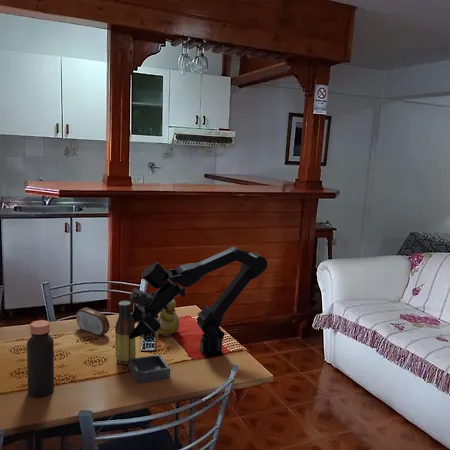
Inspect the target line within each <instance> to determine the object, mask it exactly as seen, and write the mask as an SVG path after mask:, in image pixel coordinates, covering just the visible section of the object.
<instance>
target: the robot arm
mask: <svg viewBox="0 0 450 450" xmlns="http://www.w3.org/2000/svg"><path fill="white" fill-rule="evenodd" d="M234 262H238V263H241V265H240V269H239V272H238V273H237V274H236V276H235V277H234V278H233V280H232V281H231V282H230V283H229V285H227V287H226V288H225V289H224V290H223V292H222V293H221V295H219V297H218V299H217V300H216V301H215V303H213V304H212V305H210V306H209V307H208V306H207V305H206V304H205V305H204V306H203V307H202V309H201V310H200V311H199V312H198V313H197V315H198V316H197V317H196V324H197V326H198V327H199V329H200V330H201V332H202V335H201V339H200V347H199V350H200V351H201V353H202V355H204V356H205V357H206V358H209V357H216V356H222V355H224V351H223V349H222V347H223V339H224V338H225V334H226V333H225V332H224V331H223V330H222V328H221V324H222V323H223V319H224V317H225V316H224V315H225V314H226V312H227V311H228V310H229V308H230V307H231V306H232V304H233V303H234V302H235V301H236V300H237V298H238V297H239V296H240V294H241V293H242V292H243V290H244V289H245V288H246V287H247V285H249V283H250V282H252V280H254V279H256V278H258V277H259V276H261V275H262V274H263V273H264V272H265V271H266V270H267V268H268V260H267V259H266V257H264V256H262V255H261V254H259V253H258V252H256V251H254V252H253V251H252V252H249V251H246V250H243V249H240V248H238V247H236V246H231V247H229V248H228V249H226V250H224V251H221V252H220V253H216V254H215V255H212V256H210V257H208V258H205V259H203V260H201V261H198V262H192V263H191V262H190V263H185V264H181V265H179V266H177V267H176V268H173V269H172V268H170V269H167V270H166V269H165V268H164V267H163V266H162V265H161V264H160V263H159V262H158V261H155V263H152V264H150V265H149V266H147V267H145V268H144V270H143V271H142V273H141V277H142V279H144V280H145V282H146V283H147V284H149V285H150V286H151V287H152V288H153V289H157V290H156V291H151V292H150V293H147V292H145V291H143V290H140V289H138V288H135V287H134V288H133V289H132V291H131V294H130V295H129V298H130V302H131V303H133V305H132V306H133V307H132V308H133V310H132V311H131V316H132V318H133V319H134V323H135V324H136V323H137V325H135V329H134V330H133V331H132V332H131V334H130V335H129V338H130V339H133V338H135V339H136V338H138V337H141V336H144V335H147V334H150V333H157V331H158V330H159V329H160V328H161V324H160V322H159V320H158V319H159V316H160V312H161V311H162V310H163V309H164V308H165V309H166V310H167V309H168V306H167V305H168V304H169V303H170V302H171V301H172V300H173V299H174V300H175V298H176V297H178V296H179V295H181V297H183V298H186V288H189V287H192V286H193V285H194V284H196V283H197V282H199V281H200V280H201V279H203V278H202V277H204V276H206V275H207V274H209V273H212V272H214V271H216V270H219V269H221V268H223V267H226V266H228V265H230V264H232V263H234ZM138 323H139V324H138Z"/></svg>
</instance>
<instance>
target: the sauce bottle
mask: <svg viewBox="0 0 450 450" xmlns="http://www.w3.org/2000/svg"><path fill="white" fill-rule="evenodd" d="M117 305H118V306H117V307H118V318H117V320H116V323H115V329H114V331H115V358H116V363H118V364H120V365H123V366H124V365H129V359H133V358H136V351H137V348H136V338H133V339H130V338H129V335H130V334H131V332H132V331H133V330H134V329H135V327H136V323H134V319H133V318H132V316H131V314H132V309H131V308H132V306H133V305H132V301H131V300H121V301H119V302H118V303H117Z"/></svg>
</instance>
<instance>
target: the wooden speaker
mask: <svg viewBox="0 0 450 450" xmlns="http://www.w3.org/2000/svg"><path fill="white" fill-rule="evenodd" d="M75 318H76V319H75V320H76V324H77V326H78V328H80V329H81V330H82V331H84V332H87V333H89V334H92V335H94V336H96V337H97V336H98V337H99V336H100V337H101V336H104V335H106V334H108V332H109V330H110V322H109V319H108V317H107V316H106V315H105V314H104V313H103V312H101V311H98V310H95V309H92V308H89V307H86V306H85V307H83V308H81V309H79V310H78V311H77V312H76V316H75Z"/></svg>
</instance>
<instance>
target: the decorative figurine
mask: <svg viewBox="0 0 450 450" xmlns="http://www.w3.org/2000/svg"><path fill="white" fill-rule="evenodd" d="M167 306H168V309H167V310H166V309H165V308H164V309H163V310H162V311H161V312H160V313H159V315H158V316H159V317H158V318H157V319H158V320H159V322H160V324H161V328H160V329H159V330H158V331H157V332H156V334H158V335H159V334H160V335H159V336H164V335H166V336H165V337H169V336H170V335H171V336H172V334H175V333H177V332H178V331H179V329H180V325H181V323H180V319H179V316H178V314H177V313H176V307H177V303H176V301H175V298H174V299H173V300H172V301H171V302H170V303H169V304H168V305H167ZM171 336H170V337H171Z"/></svg>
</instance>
